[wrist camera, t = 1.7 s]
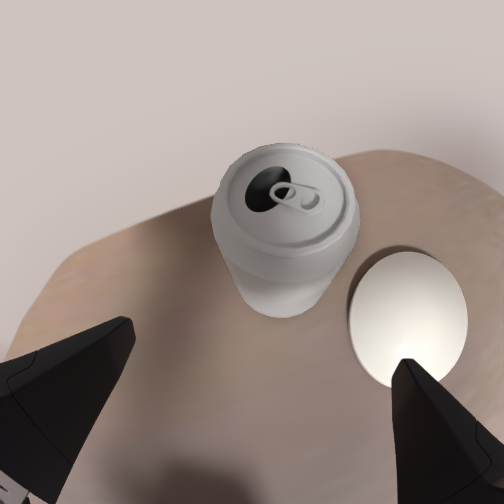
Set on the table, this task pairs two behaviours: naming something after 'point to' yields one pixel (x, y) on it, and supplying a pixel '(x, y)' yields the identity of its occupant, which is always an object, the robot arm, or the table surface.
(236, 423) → the table surface
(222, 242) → the can
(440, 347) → the saucer
